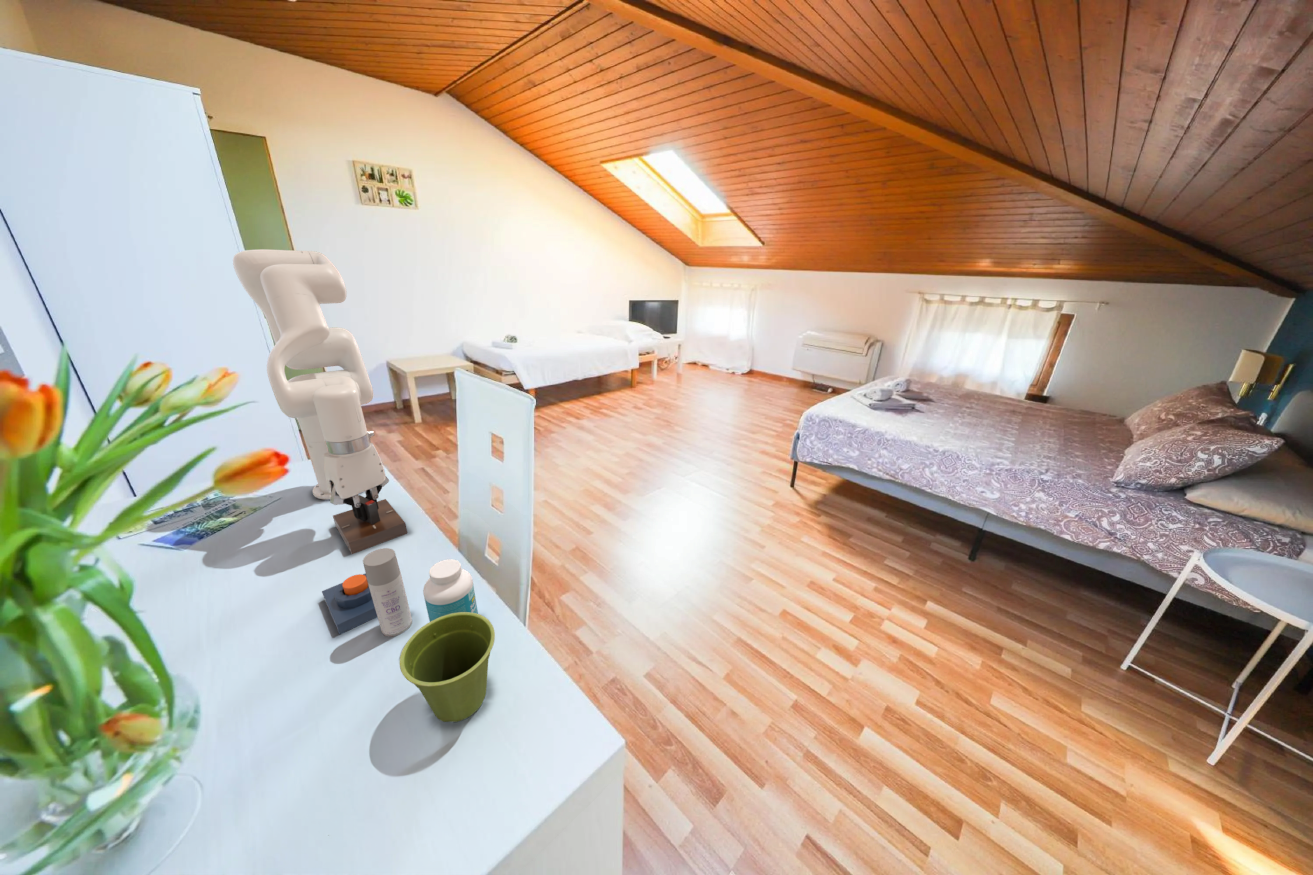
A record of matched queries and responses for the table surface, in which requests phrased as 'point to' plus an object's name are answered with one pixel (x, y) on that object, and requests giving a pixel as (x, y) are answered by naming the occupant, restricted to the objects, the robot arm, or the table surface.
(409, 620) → the container
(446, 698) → the plant pot
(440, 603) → the pill bottle
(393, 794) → the table surface
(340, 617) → the button block
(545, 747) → the table surface
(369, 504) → the black boxy piece
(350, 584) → the button
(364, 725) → the table surface
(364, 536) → the brown wooden switch base
